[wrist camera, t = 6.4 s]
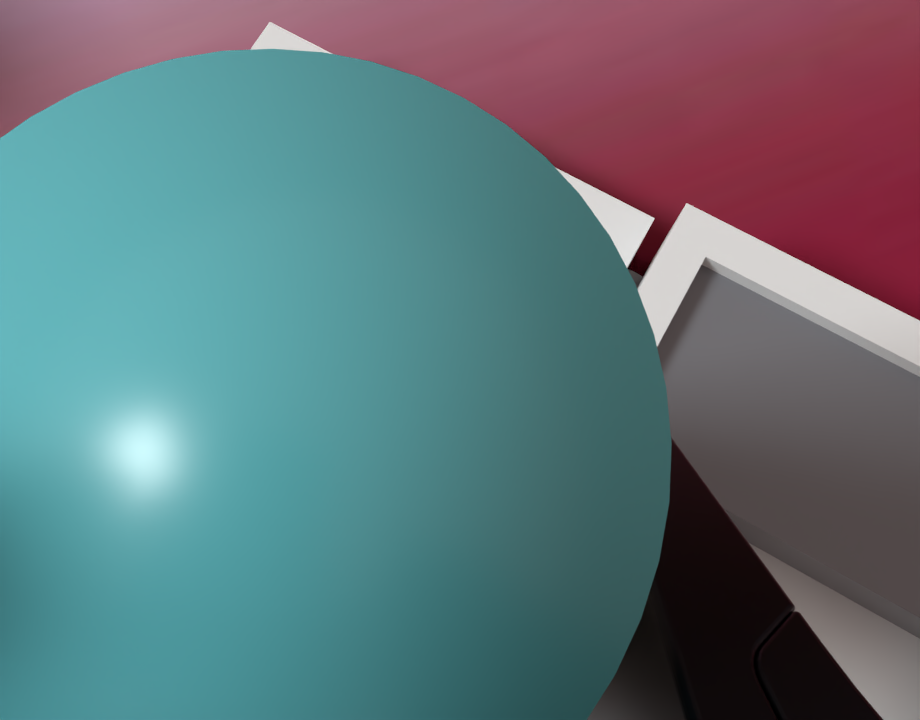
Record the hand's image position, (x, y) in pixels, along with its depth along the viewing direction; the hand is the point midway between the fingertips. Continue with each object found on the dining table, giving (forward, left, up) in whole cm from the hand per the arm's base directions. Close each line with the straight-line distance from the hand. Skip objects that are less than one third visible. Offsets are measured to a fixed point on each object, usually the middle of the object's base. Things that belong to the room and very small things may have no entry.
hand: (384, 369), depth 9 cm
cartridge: (-1, 0, -6) cm, 6 cm away
